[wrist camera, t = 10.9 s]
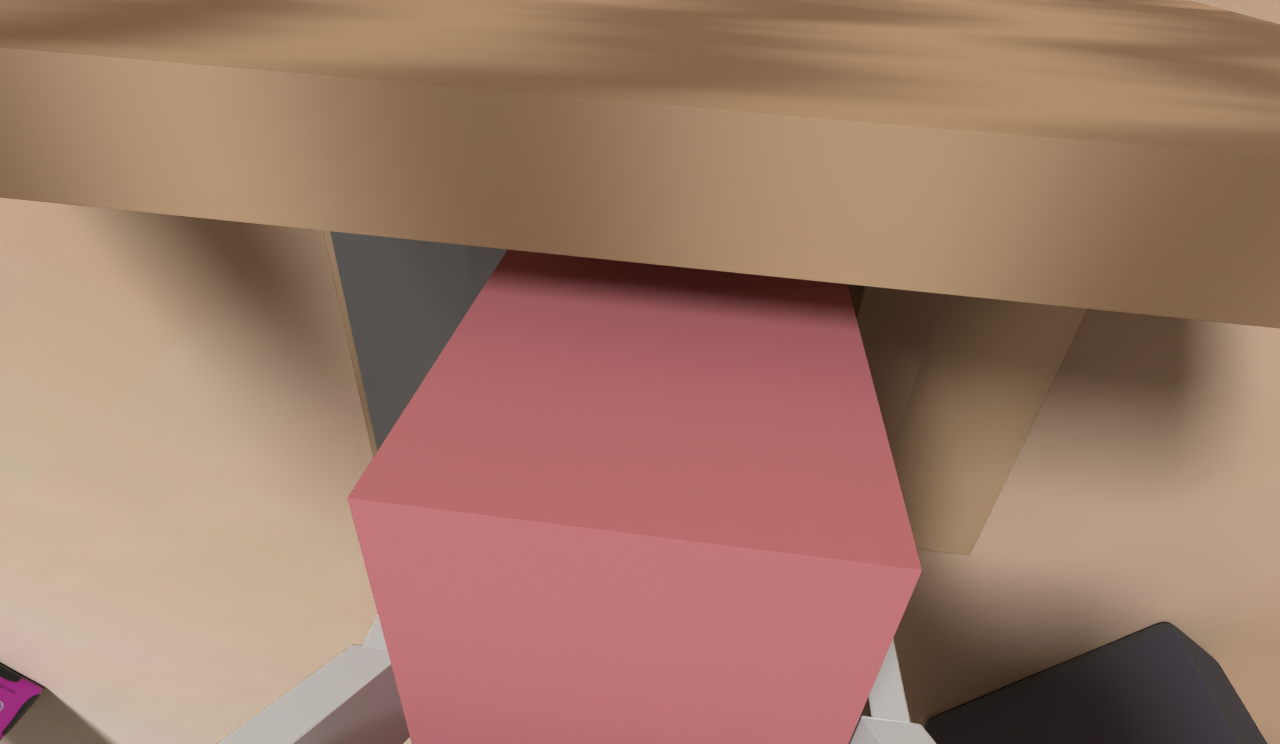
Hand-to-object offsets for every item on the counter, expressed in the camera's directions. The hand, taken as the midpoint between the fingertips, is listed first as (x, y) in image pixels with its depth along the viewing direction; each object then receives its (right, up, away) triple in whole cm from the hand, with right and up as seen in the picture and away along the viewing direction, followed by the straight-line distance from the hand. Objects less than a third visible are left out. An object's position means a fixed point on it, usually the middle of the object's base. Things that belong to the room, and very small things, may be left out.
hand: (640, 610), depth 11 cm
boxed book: (0, +2, +3) cm, 4 cm away
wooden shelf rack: (+1, +6, +9) cm, 11 cm away
